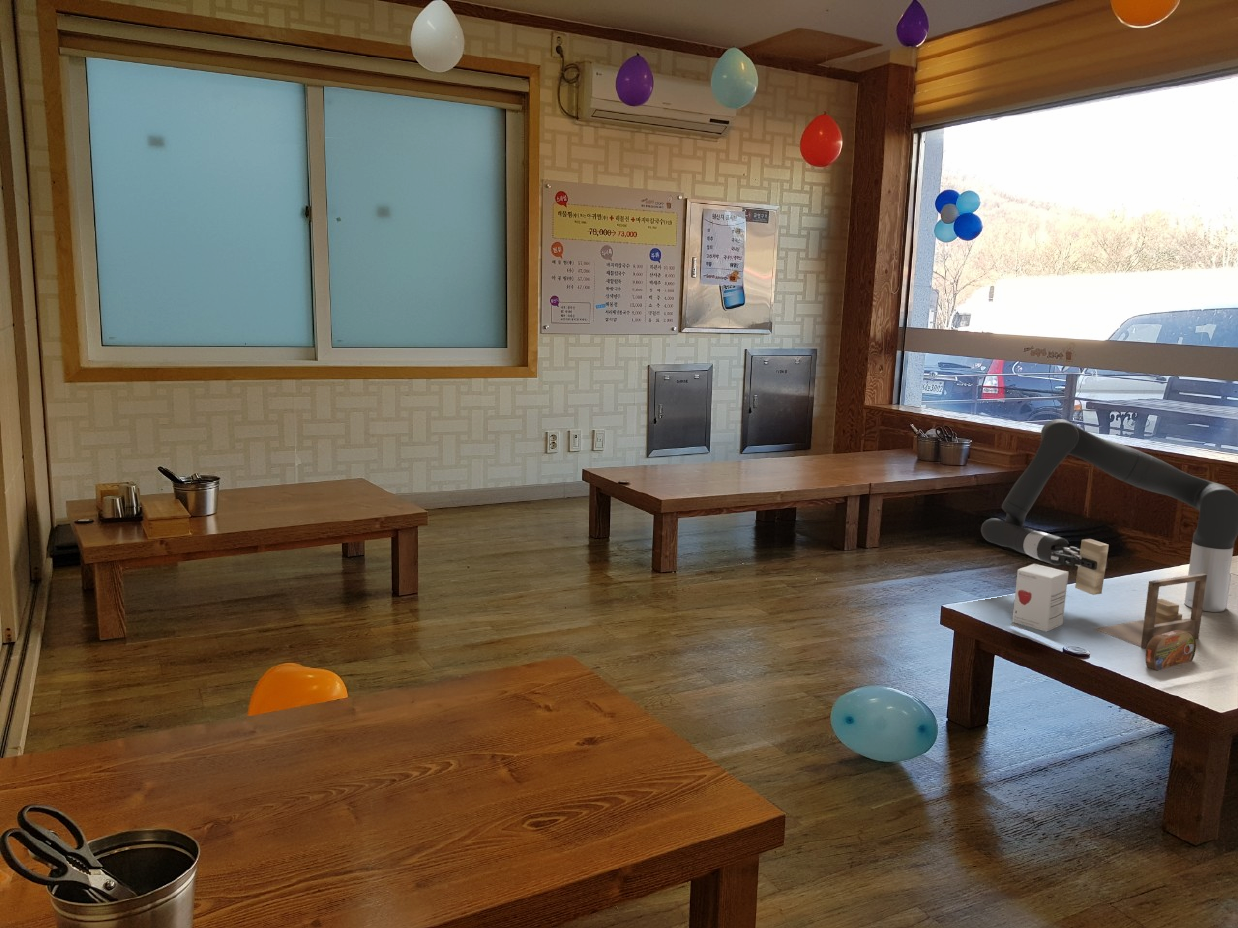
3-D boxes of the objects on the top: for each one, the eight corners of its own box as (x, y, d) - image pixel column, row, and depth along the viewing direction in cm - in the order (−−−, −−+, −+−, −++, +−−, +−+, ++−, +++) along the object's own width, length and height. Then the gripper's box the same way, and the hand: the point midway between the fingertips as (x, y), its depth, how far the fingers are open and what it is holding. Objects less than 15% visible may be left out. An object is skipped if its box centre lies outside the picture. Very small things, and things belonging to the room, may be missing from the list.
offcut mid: (1157, 616, 224) (1159, 607, 224) (1181, 623, 219) (1182, 614, 219) (1148, 619, 222) (1149, 610, 222) (1172, 626, 217) (1173, 617, 217)
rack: (1144, 624, 229) (1152, 558, 226) (1197, 643, 216) (1207, 574, 213) (1093, 633, 222) (1100, 565, 219) (1144, 653, 210) (1153, 582, 207)
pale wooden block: (1083, 586, 235) (1090, 538, 233) (1101, 593, 230) (1108, 544, 228) (1075, 587, 234) (1081, 539, 232) (1093, 594, 229) (1100, 545, 227)
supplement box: (1010, 626, 227) (1015, 568, 224) (1027, 618, 232) (1033, 562, 229) (1046, 636, 220) (1052, 577, 217) (1063, 628, 225) (1069, 571, 223)
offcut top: (1160, 607, 224) (1161, 598, 223) (1178, 614, 219) (1179, 605, 218) (1149, 609, 223) (1150, 599, 222) (1167, 615, 218) (1168, 606, 217)
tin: (1154, 677, 196) (1158, 640, 195) (1140, 672, 199) (1144, 635, 198) (1195, 665, 203) (1200, 629, 202) (1181, 660, 206) (1185, 625, 205)
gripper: (1028, 536, 241) (1082, 553, 225) (1066, 531, 246) (1123, 548, 230) (1025, 563, 242) (1079, 582, 226) (1063, 558, 247) (1119, 576, 232)
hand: (1101, 565), depth 228 cm, fingers closed on pale wooden block, 3 cm apart
